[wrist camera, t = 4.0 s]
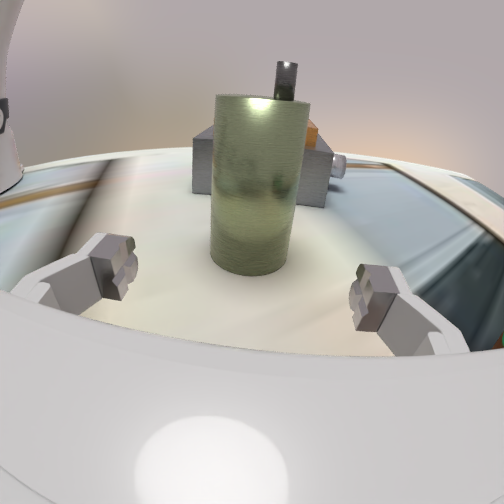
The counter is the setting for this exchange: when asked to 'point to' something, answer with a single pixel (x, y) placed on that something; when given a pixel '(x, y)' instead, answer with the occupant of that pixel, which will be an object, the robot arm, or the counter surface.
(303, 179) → the grey drawer box
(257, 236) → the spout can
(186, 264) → the counter surface
